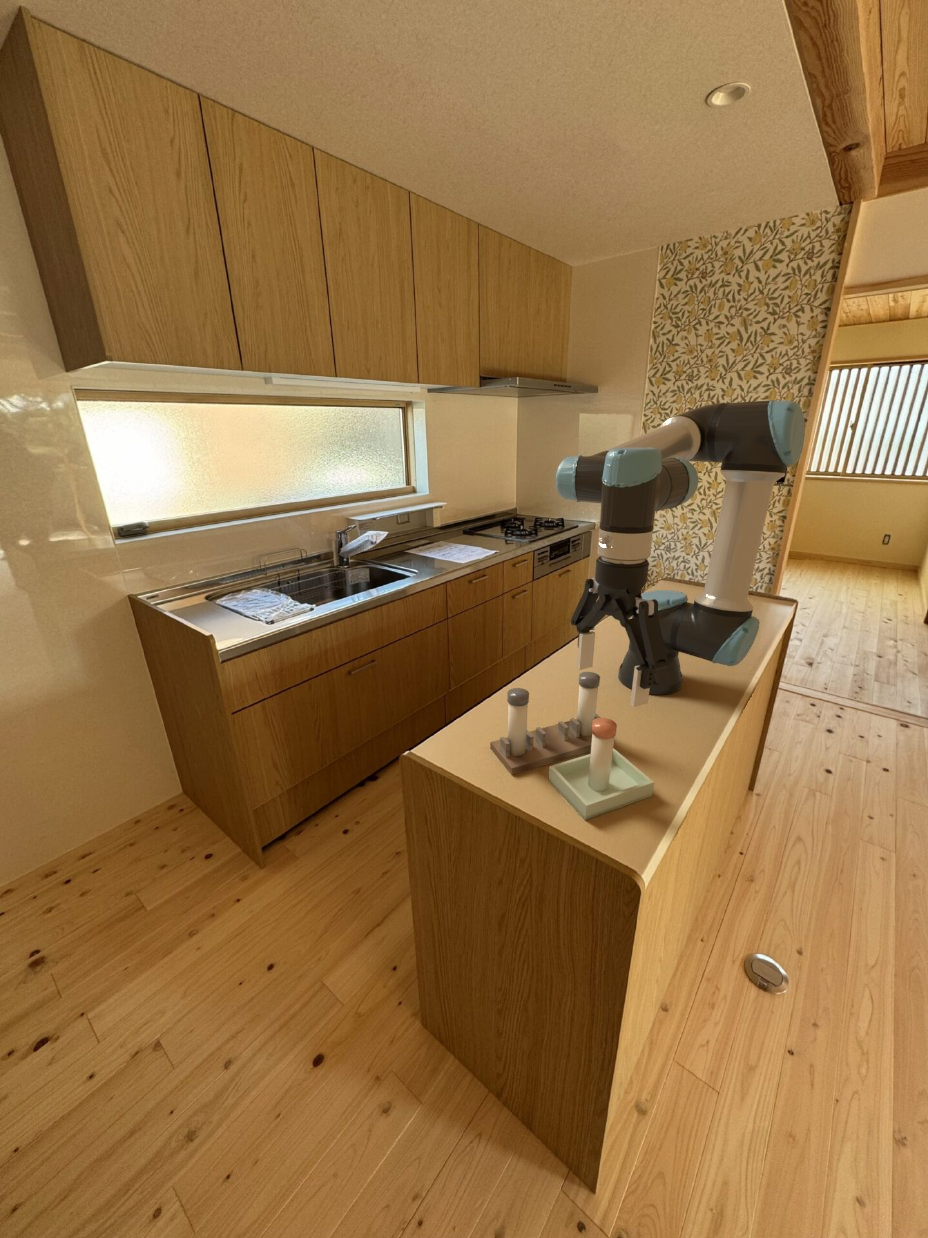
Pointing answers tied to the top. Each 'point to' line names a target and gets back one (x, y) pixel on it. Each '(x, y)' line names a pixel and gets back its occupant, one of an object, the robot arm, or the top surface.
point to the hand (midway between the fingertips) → (609, 684)
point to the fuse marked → (601, 753)
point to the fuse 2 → (587, 701)
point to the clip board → (544, 746)
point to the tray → (588, 803)
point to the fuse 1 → (517, 720)
